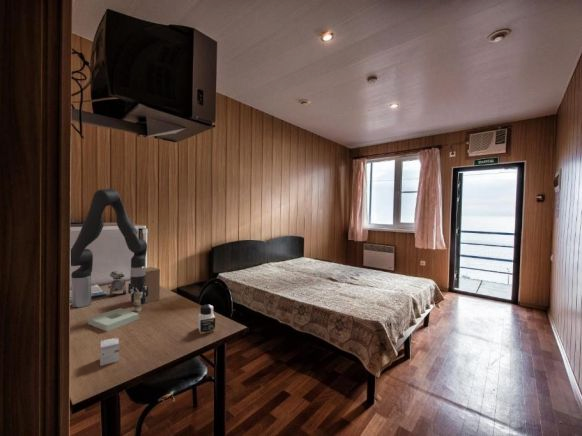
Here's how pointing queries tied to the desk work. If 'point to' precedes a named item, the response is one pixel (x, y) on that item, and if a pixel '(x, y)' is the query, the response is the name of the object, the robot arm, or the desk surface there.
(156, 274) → the wooden block
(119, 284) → the figurine
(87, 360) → the desk surface
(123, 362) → the desk surface
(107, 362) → the skincare box
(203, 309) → the medicine bottle
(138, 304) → the peg
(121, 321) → the seat board
